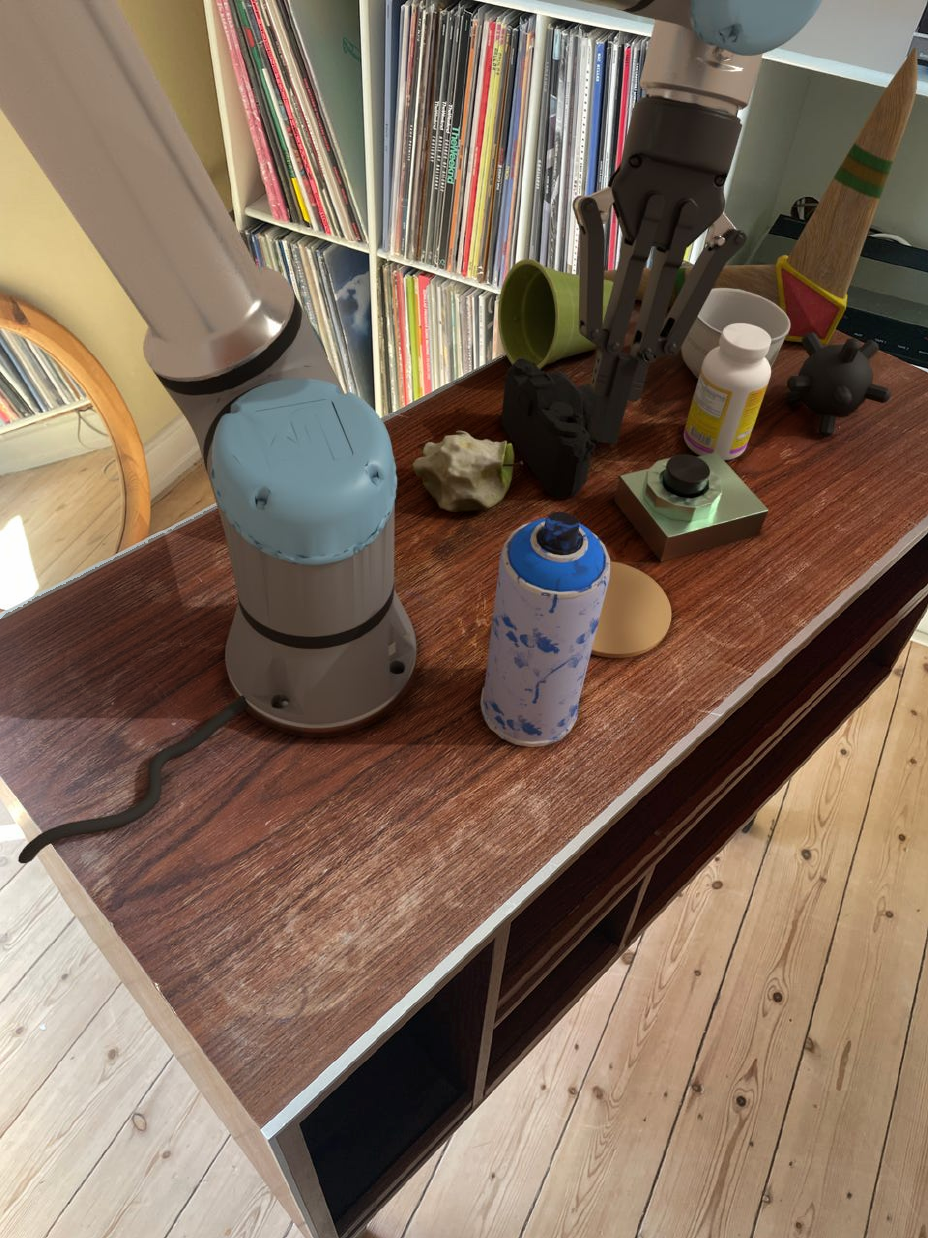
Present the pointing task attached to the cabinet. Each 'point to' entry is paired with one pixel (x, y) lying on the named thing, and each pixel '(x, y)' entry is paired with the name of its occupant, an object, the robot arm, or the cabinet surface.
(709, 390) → the supplement bottle
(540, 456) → the film camera
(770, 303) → the teacup
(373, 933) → the cabinet surface
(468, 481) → the fruit
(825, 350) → the toy ball
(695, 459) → the button
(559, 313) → the plant pot
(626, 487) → the green knob plate
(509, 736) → the aerosol can
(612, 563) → the coaster
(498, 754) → the cabinet surface
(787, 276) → the wooden v shape
